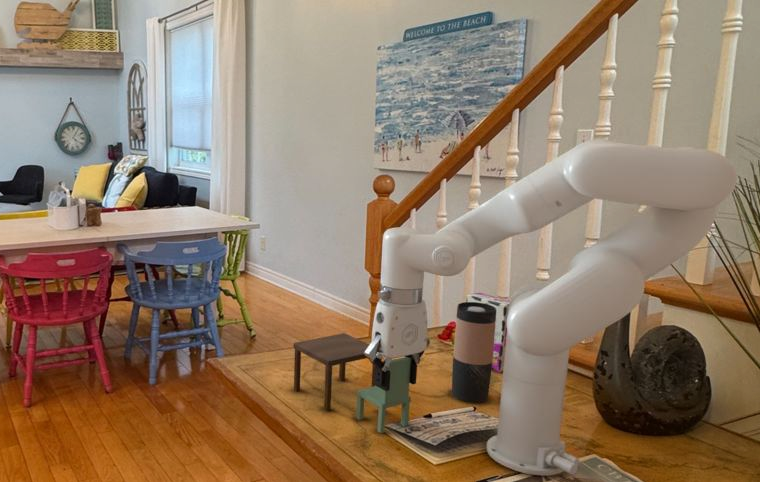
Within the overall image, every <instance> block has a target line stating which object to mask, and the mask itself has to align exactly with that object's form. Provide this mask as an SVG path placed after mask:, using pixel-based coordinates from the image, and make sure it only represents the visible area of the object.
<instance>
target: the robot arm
mask: <svg viewBox="0 0 760 482" xmlns="http://www.w3.org/2000/svg"><path fill="white" fill-rule="evenodd" d="M736 186H737V172H736V169H735V166H734V165H733V164H732V162H731V161H730V160H729V159H728V158H727V157H725V156H724V155H723V154H720V153H719V152H716V151H713V150H710V149H705V148H701V147H698V146H697V147H696V146H681V147H667V146H666V147H665V146H654V145H645V144H644V145H643V144H633V143H625V142H618V141H613V140H610V139H606V138H592V139H588V140H586V141H584V142H581V143H579V144H577V145H576V146H574V147H572V148H571V149H569V150H567V151H566V152H564V153H561V155H559V156H558V157H556V158H554V159H553V160H550V161H549V162H548V163H546V164H544V165H542V166H541V167H538V169H536V170H535V171H533V172H531V173H529V174H528V175H526V176H525V177H523V178H521V179H519V180H517V181H516V182H514V183H512V184H511V185H509V186H508V187H506V188H505V189H502V190H501V191H500V192H498V193H497V194H495V195H494V196H493V197H492V198H490V199H488V200H486V201H485V202H483V203H482V204H480V205H478V206H476V207H475V208H473V209H471V210H469V211H468V212H466V213H465V214H463V215H461V216H460V217H458V218H456V219H454V220H453V221H451V222H449V223H448V224H446V225H445V226H443V227H441V228H440V229H438V230H437V231H436V232H435V233H434V234H425V232H424V231H423V230H421V229H419V228H414V227H406V226H405V227H403V226H401V227H390V228H388V229H386V230H385V231H384V233H383V235H382V247H381V265H380V266H381V267H380V286H379V291H377V293H376V296H377V298H378V299H379V300H378V301H377V304H376V306H375V311H374V316H373V323H372V330H371V342H370V343H369V346H368V348H367V349H366V350H365V352H364V355H365V356H366V357H367V358H366V359H368V360H369V362H370V363H371V364H372V367H373V366H374V367H376V375H375V385H376V386H377V387H379V388H381V389H383V390H384V391H389V389H390V371H389V370H388V368H389V365H390V362H391V360H393V359H399V358H404V357H408V358H410V359H411V364H410V380H409V384H410V385H416V384H417V375H418V365H419V364H420V363H421V358H422V356H423V355H424V354H425V350H426V349H427V348H428V347H429V345H430V344H431V340H430V339H429V338H428V311H427V306H426V301H425V300H424V299H423V295H424V280H425V279H424V278H425V273H429V274H431V275H436V276H440V277H453V276H454V277H455V276H456V275H459V274H461V273H462V272H463V271H464V270H465V269H466V268H467V267H468V265H469V263H470V261H471V259H473V258H474V257H476V256H477V255H479V254H481V253H482V252H484V251H486V250H488V249H490V248H491V247H493V246H495V245H497V244H498V243H501V242H503V241H505V240H507V239H510V238H512V237H515V236H517V235H518V236H519V235H522V234H529V233H534V232H535V231H538V230H541V229H542V228H545V227H547V226H549V225H550V224H551V223H554V222H556V221H557V220H559V219H561V218H563V217H564V216H566V215H567V214H570V213H572V212H573V211H575V210H577V209H579V208H580V207H582V206H584V205H587V204H589V203H590V202H591V201H593V200H595V199H597V200H601V201H602V200H603V201H606V202H607V201H608V202H615V203H621V204H629V205H638V206H645V207H644V208H643V209H642V210H641V211H640V212H639V213H638V214H637V215H635V216H634V217H633V218H631V219H630V220H628V221H627V222H625V223H623V225H621V226H620V227H619V228H617V229H616V230H614V231H612V232H611V233H609V234H608V235H606V236H604V237H603V238H601V239H600V240H598V241H597V242H595V243H593V244H592V245H590V246H588V247H586V248H585V249H583V250H581V251H579V252H578V253H577V254H575V255H574V257H573V258H571V260H570V261H569V263H568V266H567V269H566V271H567V272H566V273H565V274H563V275H562V276H560V277H559V278H557V279H556V280H554V281H553V282H547V281H532V282H529V283H526V284H523V285H522V286H521V287H519V288H518V289H517V290H516V291H515V292H514V293H513V295H512V296H511V298H510V299H509V301H510V303H509V307H508V315H507V337H506V347H505V358H504V369H503V371H502V377H501V387H500V388H501V390H500V401H499V412H498V422H497V434H496V435H494V436H491V437H490V438H488V439H487V441H486V448H485V449H486V452H487V454H488V456H489V457H490V458H491V459H493V460H494V461H495V462H496V463H498V464H500V465H501V466H503V467H505V468H507V469H510V470H512V471H516V472H519V473H523V474H528V475H531V476H532V475H533V476H544V477H545V476H546V477H547V476H548V477H549V476H554V475H559V474H561V473H563V472H565V473H567V474H569V475H572V476H574V475H575V474H577V472H578V468H579V466H578V465H579V464H580V459H579V458H578V457H577V456H574V455H572V454H569V453H567V451H566V445H567V443H566V441H564V440H561V439H560V438H561V429H562V421H563V420H562V418H563V412H564V411H563V410H564V401H565V392H566V383H567V379H568V370H569V361H570V360H569V359H570V349H572V348H574V347H575V346H577V345H578V344H581V343H582V342H584V341H586V340H588V339H589V338H591V337H593V336H594V335H597V334H598V333H599V332H601V331H603V330H604V329H607V328H608V327H610V326H612V325H613V324H615V323H616V322H618V321H620V320H621V319H623V318H624V317H626V316H627V315H629V314H630V313H631V312H632V311H633V310H634V309H635V308H636V307H637V306H638V304H640V302H641V301H642V298H643V297H644V293H645V282H646V281H648V280H650V278H652V277H654V276H655V275H657V274H659V273H660V272H661V271H664V270H665V269H666V268H668V267H669V266H670V265H672V264H674V263H675V262H677V261H678V260H679V259H681V258H682V257H684V256H685V255H687V254H688V253H689V252H691V251H692V250H694V248H696V247H697V246H698V245H699V244H700V243H701V242H702V241H703V239H704V238H705V237H706V235H707V234H708V233H709V231H710V230H711V228H712V226H713V224H714V221H715V219H716V217H717V214H718V210H719V206H720V204H722V203H724V202H725V201H726V200H727V199H728V198H729V197H730V196H731V195H732V193H733V192H734V190H735V188H736ZM376 352H377V354H376ZM383 357H384V359H383ZM382 359H383V361H382Z"/></svg>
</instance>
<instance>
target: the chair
mask: <svg viewBox="0 0 760 482" xmlns="http://www.w3.org/2000/svg"><path fill="white" fill-rule="evenodd" d="M410 364H411V359H410V358H408V357H405V356H403V357H398V358H394V359H391V362H390V365H389V368H388V370H389V371H390V389H389V391H384V390H383V389H381V388H379V387H377V386H373V387H372V386H369V387H365V388H361V389H357V390H356V411H355V412H356V413H355V415H356V416H355V418H356V419H357V420H358V421H361V420H364V410H365V401H367V402H368V403H370V404H372V405H373V406H376V407H377V408H378V413H377V428H376V429H377V430H376V431H377V432H378V433H379V434H384V433H385V432H386V415H387V409H390V408H392V407H396V406H399V405H401V416H400V418H401V419H400V425H401V426H402V427H408V426H409V419H410V404H411V401H412V400H411V399H412V398H411V396H409V395H410V383H409V380H410Z"/></svg>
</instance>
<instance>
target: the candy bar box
mask: <svg viewBox="0 0 760 482" xmlns="http://www.w3.org/2000/svg"><path fill="white" fill-rule="evenodd" d="M465 302H477V303H484V304H488V305H491V306H493V307H495V308H496V323H495V336H494V349H493V361H492V371H495V372H498V373H503V369H504V358H505V347H506V337H507V315H508V307H509V303H510V300H509V299H504V298H501V297H497V296H493V295H489V294H486V293H482V292H476V293H470V294H467V295H466V300H465Z"/></svg>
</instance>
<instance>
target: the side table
mask: <svg viewBox="0 0 760 482" xmlns="http://www.w3.org/2000/svg"><path fill="white" fill-rule="evenodd" d="M369 345H370V343H367V342H365V341H363V340H360V339H358V338H356V337H354V336H352V335H349V334H347V333H346V332H345V333H344V332H342V333H337V334H332V335H327V336H323V337H316V338H312V339H308V340H307V339H306V340H301V341H297V342H294V343H293V349H294V366H293V367H294V368H293V374H294V375H293V391H294V392H296V393H297V392H300V391H301V370H302V369H301V365H302V363H301V362H302V354H304V355H305V356H307V357H309V358H312V359H313V360H315V361H317V362H318V363H321V364H323V365H324V366H325V368H324V369H325V370H324V397H323V398H324V399H323V401H324V402H323V409H324V411H326V412H328V411H331V410H332V388H333V386H332V385H333V366H338V365H339V366H338V367H339V370H338V380H339V381H340V382H343V381H345V380H346V364H347V363H351V362H357V361H360V360H365V359H368V358H367V357H366V356H365V355H364V352H365V350H366V349H367V348H368V346H369ZM376 354H377V352H376ZM371 369H372V370H371V371H372V372H371V387H373V386H376V385H375V375H376V367H374V366H373V365H372V368H371Z"/></svg>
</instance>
